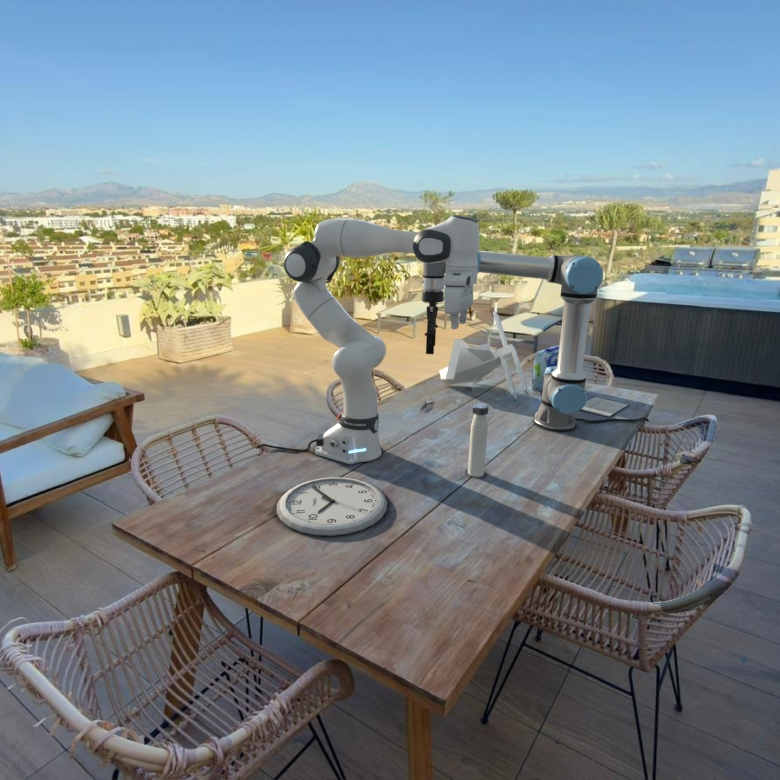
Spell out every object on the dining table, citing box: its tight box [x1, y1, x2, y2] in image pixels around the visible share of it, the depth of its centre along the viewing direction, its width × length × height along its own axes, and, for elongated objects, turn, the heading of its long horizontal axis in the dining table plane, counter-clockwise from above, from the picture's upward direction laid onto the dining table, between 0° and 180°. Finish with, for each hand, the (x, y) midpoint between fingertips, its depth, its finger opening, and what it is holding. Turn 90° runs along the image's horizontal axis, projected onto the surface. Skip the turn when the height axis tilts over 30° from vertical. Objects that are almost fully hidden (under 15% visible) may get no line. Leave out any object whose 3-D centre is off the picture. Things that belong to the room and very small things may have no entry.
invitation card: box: [580, 396, 629, 418], centre depth 226 cm, size 21×1×15 cm
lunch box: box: [531, 344, 560, 393], centre depth 245 cm, size 26×11×21 cm, turn 134°
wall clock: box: [276, 476, 388, 537], centre depth 142 cm, size 30×2×30 cm
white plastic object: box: [438, 310, 531, 400], centre depth 245 cm, size 37×45×31 cm
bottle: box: [467, 414, 489, 478], centre depth 160 cm, size 5×5×22 cm
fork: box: [420, 395, 435, 411], centre depth 224 cm, size 3×16×2 cm, turn 160°
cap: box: [472, 402, 489, 416], centre depth 157 cm, size 5×5×2 cm
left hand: (458, 326), depth 150 cm, fingers open, 8 cm apart
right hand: (430, 349), depth 189 cm, fingers open, 13 cm apart
